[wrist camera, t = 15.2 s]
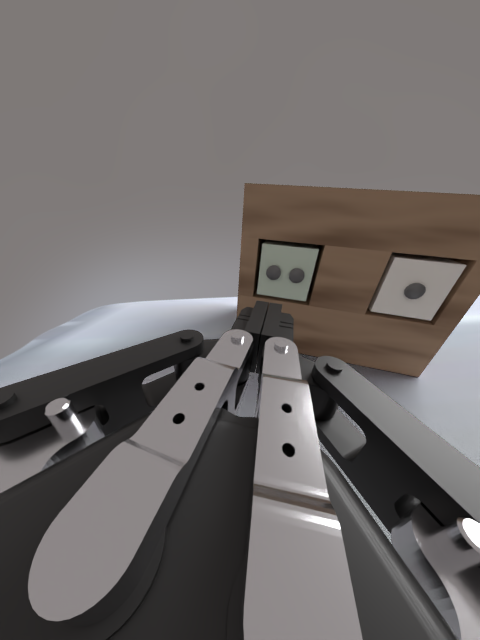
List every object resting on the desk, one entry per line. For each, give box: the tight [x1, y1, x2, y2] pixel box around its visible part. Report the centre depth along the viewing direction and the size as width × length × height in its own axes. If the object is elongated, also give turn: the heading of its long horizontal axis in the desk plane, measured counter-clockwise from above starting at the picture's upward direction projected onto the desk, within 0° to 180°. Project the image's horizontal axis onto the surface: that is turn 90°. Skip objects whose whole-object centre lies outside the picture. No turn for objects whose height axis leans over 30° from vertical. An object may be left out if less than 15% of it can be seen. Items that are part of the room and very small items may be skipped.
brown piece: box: [237, 183, 480, 377], centre depth 22 cm, size 10×20×16 cm, turn 76°
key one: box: [368, 252, 467, 321], centre depth 19 cm, size 6×5×5 cm
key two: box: [257, 239, 319, 301], centre depth 21 cm, size 6×5×5 cm
